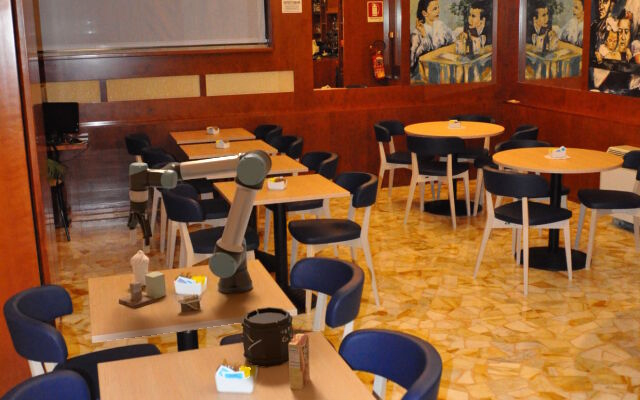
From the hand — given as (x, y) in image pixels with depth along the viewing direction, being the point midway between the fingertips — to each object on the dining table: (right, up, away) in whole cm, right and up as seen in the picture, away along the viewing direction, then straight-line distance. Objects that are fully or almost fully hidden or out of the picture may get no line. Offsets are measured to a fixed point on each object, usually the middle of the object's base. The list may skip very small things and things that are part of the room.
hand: (139, 248), depth 336 cm
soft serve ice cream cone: (-4, -18, +24) cm, 30 cm away
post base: (-1, -23, +1) cm, 23 cm away
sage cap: (+6, -21, +8) cm, 23 cm away
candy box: (+70, -39, -81) cm, 114 cm away
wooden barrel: (+58, -34, -60) cm, 91 cm away
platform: (+24, -25, -11) cm, 37 cm away
